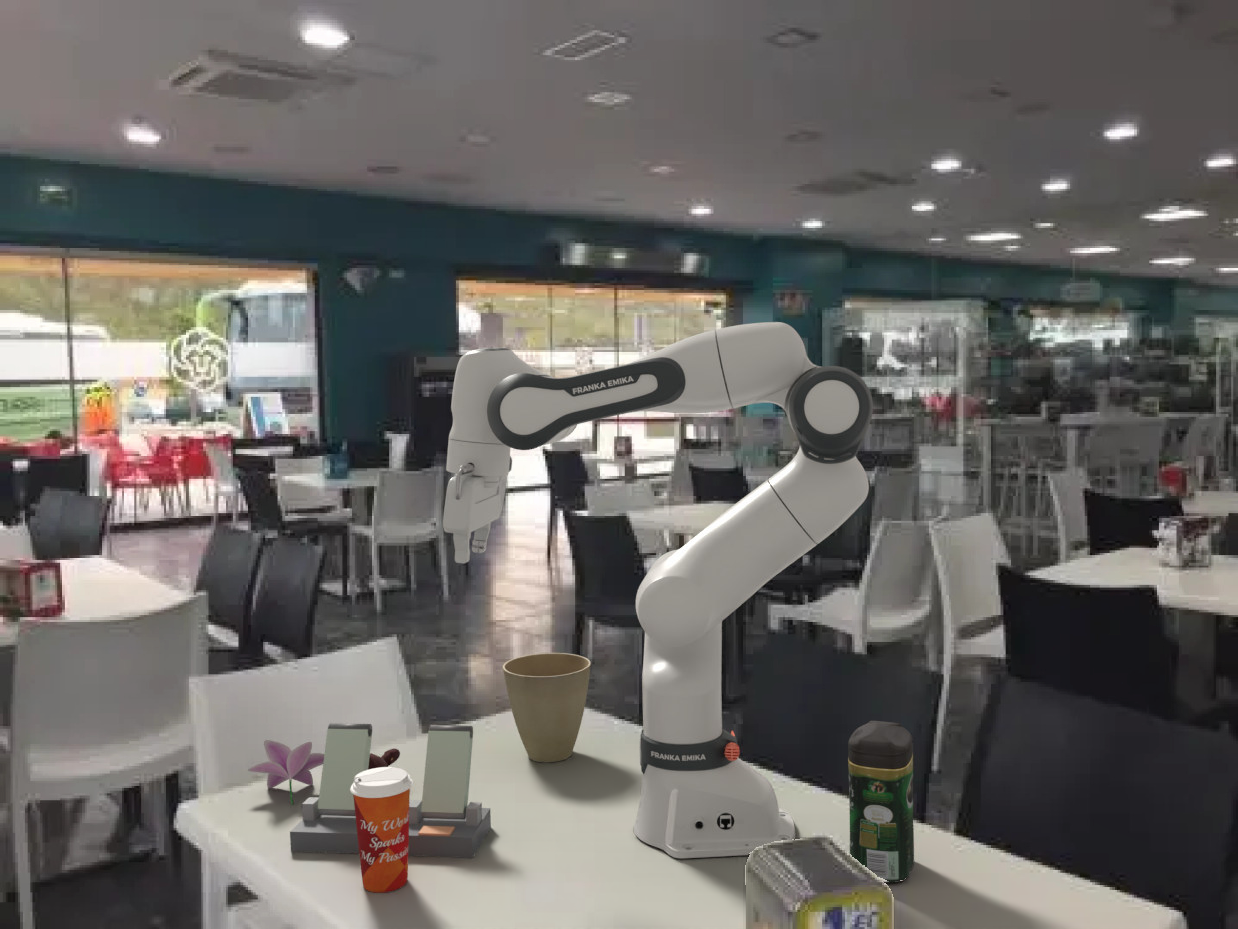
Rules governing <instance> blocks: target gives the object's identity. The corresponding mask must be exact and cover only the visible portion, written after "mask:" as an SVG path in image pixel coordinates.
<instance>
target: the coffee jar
mask: <svg viewBox="0 0 1238 929" xmlns="http://www.w3.org/2000/svg"><path fill="white" fill-rule="evenodd" d="M847 743H848V744H847V745H848V752H847V753H848V755H847V756H848V757H847V761H848V762H847V763H848V764H847V765H848V787H849V788H848V789H849V790H848V792H849V794H848V795H849V797H848V798H849V800H848V801H849V804H848V805H849V855H850V854H851V855H852V857H854V858H855V859H857V860H858V861H859V862H860V863H861V864H862V865H865V867H867V868H868V869H869V870H871V871H872V872H873V873H875V874H876V875H877V877H880V878H883V879H885V880H887V881H889V882H888V883H896V882H895V881H900V880H904V879H905V878H906V879H908V878H909V876H910V874H911V872H912V870H913V867H914V864H915V836H914V748H913V747H914V746H913V744H914V740H913V736H912V734H911V733H910V732H909V730H908V729H906V728H905V727H904V726H902V724H901V723H898V722H890V721H880V720H870V721H868V722H867V723H866V724H862V725H861V726H859V727H858V728H856V729H855V730H854V731H853V732H852V734H851V735H850V736H849V739H848V742H847ZM906 879H905V880H906ZM905 880H904V881H905Z"/></svg>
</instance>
